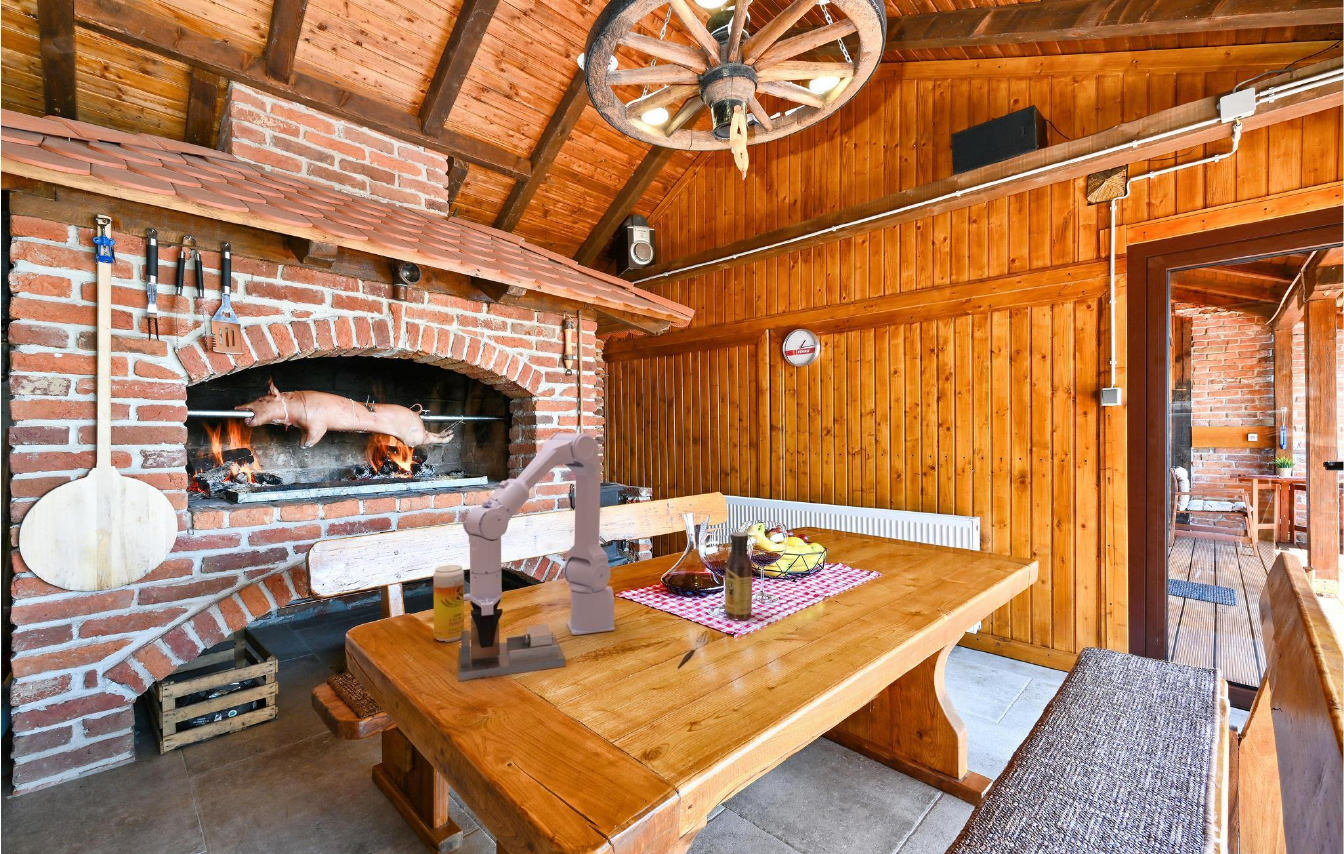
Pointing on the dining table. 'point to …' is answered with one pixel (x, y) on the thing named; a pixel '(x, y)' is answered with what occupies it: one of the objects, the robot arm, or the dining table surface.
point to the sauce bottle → (738, 579)
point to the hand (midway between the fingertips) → (486, 641)
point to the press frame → (508, 658)
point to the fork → (693, 649)
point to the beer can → (448, 603)
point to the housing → (487, 651)
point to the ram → (538, 636)
